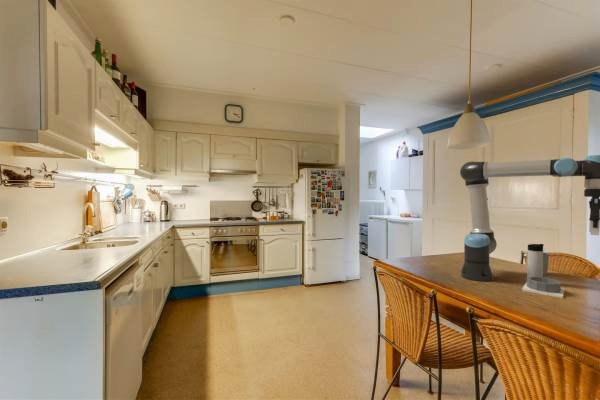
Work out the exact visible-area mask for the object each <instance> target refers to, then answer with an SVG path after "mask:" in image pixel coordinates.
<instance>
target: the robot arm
mask: <svg viewBox="0 0 600 400" xmlns="http://www.w3.org/2000/svg"><path fill="white" fill-rule="evenodd" d="M584 158H585V159H583V160H582V159H581V160H575V159H573V158H570V157H563V158H557V159H539V160H536V159H535V160H525V161H524V160H522V161H504V162H503V161H501V162H488V161H473V160H471V161H468V162H465V163H464V164H463V165H462V166H461V167H460V171H459V175H460V177H461V179H463V180H464V182H465V184H464V185H465V187H466V188H467V189H468V193H469V204H470V214H471V215H470V216H471V223H472V229H471V230H470V233H468V234H466V235H464V239H463V242H464V249H463V250H464V256H463V257H464V260H463V265H462V266H461V270H460V276H461V277H462V278H464V279H468V280H472V281H476V282H477V281H478V282H491V281H493V280H494V274H493V271H492V268H491V264H490V254H492V253H493V252H495V250H496V249H497V243H498V242H497V240H496V238H495V231H494V230H492V228H491V226H490V225H491V224H490V215H489V214H490V213H489V205H488V204H489V203H488V195H487V187H488V186H489V178H509V177H510V178H511V177H513V178H515V177H542V176H543V177H544V176H545V177H547V176H551V177H555V178H557V177H558V178H562V177H565V178H566V177H584V182H583V183H584V184H583V185H584V190H583V191H584V193H583V196H584V197H586V198H587V197H588V198H590V197H591V198H590V200H589V201H588V205H589V209H590V211H589V219H588V220H589V233H590V235H591V236H600V154H592V155H587V156H585V157H584Z"/></svg>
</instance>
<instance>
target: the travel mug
mask: <svg viewBox="0 0 600 400" xmlns="http://www.w3.org/2000/svg"><path fill="white" fill-rule="evenodd" d="M544 246H545V244H543V243H529V244H527V251H526V252H527V255H526V265H527V268H526V270H527V272H526V278H527V277H531V276H534V277H544V275H543V252H544Z"/></svg>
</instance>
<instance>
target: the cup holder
mask: <svg viewBox="0 0 600 400" xmlns="http://www.w3.org/2000/svg"><path fill="white" fill-rule="evenodd" d="M561 285H562V283H561V281H559V280H557V279H554V278H550V277H544V276H543V277H534V276H531V277H527V276H526V282H525V283H524V285H523V286H522V289H521V290H522V291H523V292H529V293H532V294H533V293H534V294H539V295H544V296H548V295H549V296H550V297H555V298H559V299H564V294H565V288H562V286H561Z"/></svg>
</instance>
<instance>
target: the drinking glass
mask: <svg viewBox="0 0 600 400" xmlns="http://www.w3.org/2000/svg"><path fill="white" fill-rule="evenodd" d="M525 252H526V253H525V255H526V256H527V251H525ZM549 257H550V254H549V253H548V252H544V251H543V276H547V275H548V267H549Z"/></svg>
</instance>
